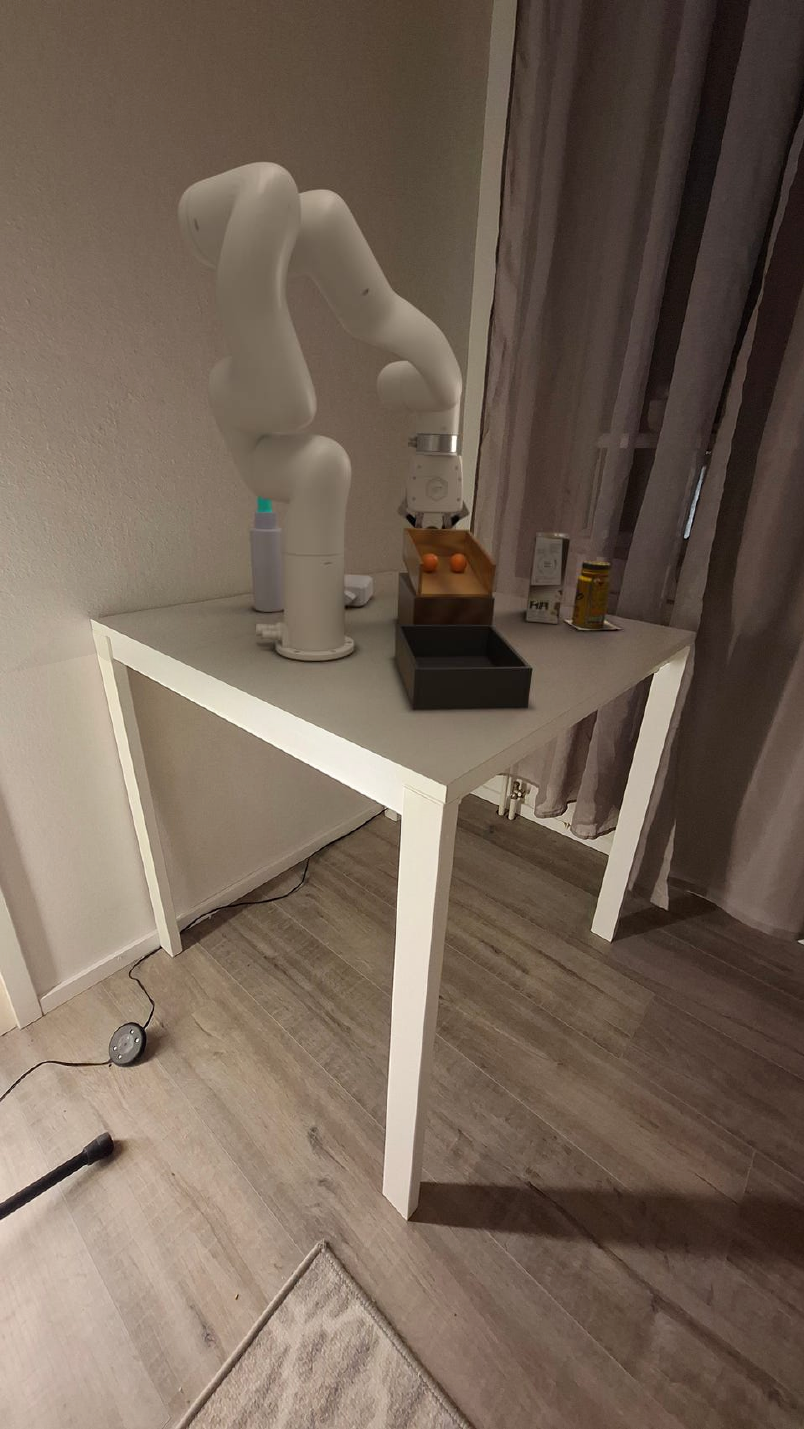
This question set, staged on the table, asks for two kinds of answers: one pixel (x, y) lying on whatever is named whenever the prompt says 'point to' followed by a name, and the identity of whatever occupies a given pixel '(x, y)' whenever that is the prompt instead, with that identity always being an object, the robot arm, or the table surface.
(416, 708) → the basket
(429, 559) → the ball
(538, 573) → the coffee box
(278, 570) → the spray bottle
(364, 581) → the charger
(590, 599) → the condiment
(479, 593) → the pour box
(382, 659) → the table surface
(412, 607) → the stand
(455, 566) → the ball
